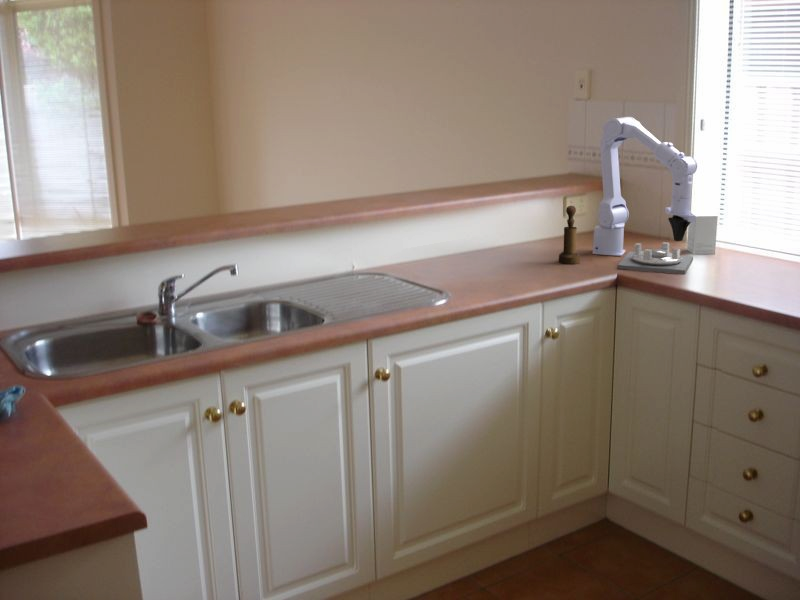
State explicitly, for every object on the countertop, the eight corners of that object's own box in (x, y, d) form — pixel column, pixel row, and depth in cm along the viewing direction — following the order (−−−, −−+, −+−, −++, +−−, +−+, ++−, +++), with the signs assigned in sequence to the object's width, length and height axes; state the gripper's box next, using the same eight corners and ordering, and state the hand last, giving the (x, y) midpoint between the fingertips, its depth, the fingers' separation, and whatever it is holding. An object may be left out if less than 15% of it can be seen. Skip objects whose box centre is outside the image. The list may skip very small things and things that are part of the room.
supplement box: (715, 254, 308) (718, 215, 304) (692, 254, 308) (695, 216, 304) (708, 249, 315) (711, 211, 311) (686, 249, 315) (689, 211, 312)
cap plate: (617, 268, 290) (617, 264, 290) (629, 255, 308) (629, 251, 307) (685, 274, 282) (685, 269, 282) (693, 259, 300) (693, 255, 300)
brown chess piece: (579, 259, 303) (581, 204, 298) (580, 264, 296) (582, 207, 291) (558, 259, 303) (559, 204, 298) (559, 264, 297) (561, 207, 292)
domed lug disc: (623, 260, 294) (623, 247, 293) (644, 252, 305) (645, 239, 304) (668, 267, 285) (669, 253, 283) (689, 258, 296) (690, 245, 294)
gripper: (657, 193, 294) (655, 236, 298) (681, 201, 281) (678, 246, 284) (678, 192, 296) (675, 235, 299) (703, 200, 282) (699, 244, 286)
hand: (678, 240), depth 292 cm, fingers closed
